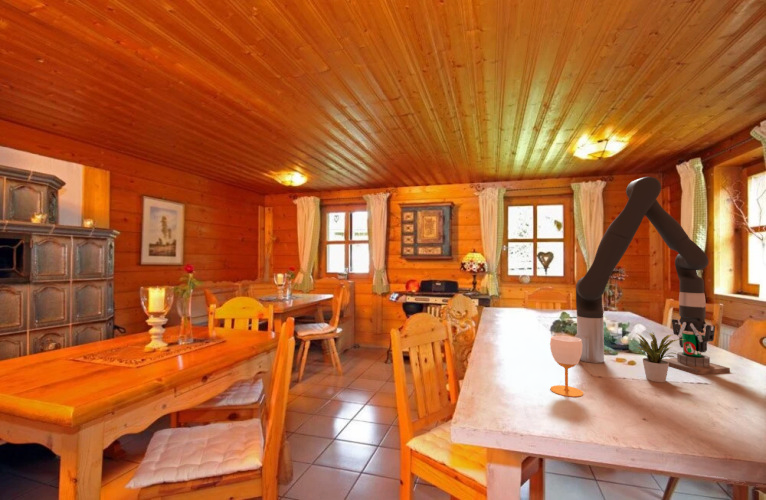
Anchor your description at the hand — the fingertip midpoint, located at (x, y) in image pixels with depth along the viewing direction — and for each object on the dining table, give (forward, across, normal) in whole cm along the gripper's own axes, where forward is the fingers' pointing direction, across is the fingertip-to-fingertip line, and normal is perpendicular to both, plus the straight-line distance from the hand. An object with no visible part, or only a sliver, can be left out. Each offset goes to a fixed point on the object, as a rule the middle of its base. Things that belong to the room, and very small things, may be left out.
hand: (692, 349), depth 133 cm
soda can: (+5, 0, 0) cm, 5 cm away
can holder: (+7, 0, 0) cm, 7 cm away
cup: (+7, +12, -63) cm, 65 cm away
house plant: (+7, +9, -25) cm, 27 cm away
